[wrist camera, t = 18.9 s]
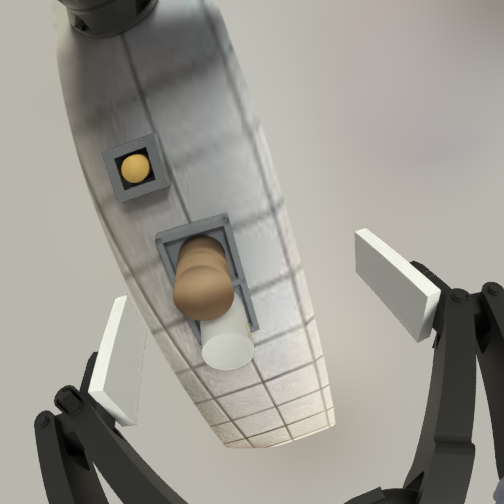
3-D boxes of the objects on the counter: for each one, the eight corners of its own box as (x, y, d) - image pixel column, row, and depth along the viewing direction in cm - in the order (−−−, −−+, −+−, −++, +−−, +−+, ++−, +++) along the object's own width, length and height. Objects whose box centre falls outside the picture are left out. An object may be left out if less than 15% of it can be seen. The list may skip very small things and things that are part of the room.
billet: (171, 242, 46) (164, 279, 35) (218, 228, 47) (225, 262, 36) (186, 283, 50) (185, 326, 39) (230, 271, 50) (240, 311, 39)
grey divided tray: (156, 233, 46) (154, 239, 43) (226, 212, 47) (228, 217, 44) (199, 336, 56) (199, 345, 54) (257, 321, 57) (259, 329, 54)
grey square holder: (109, 150, 39) (101, 152, 35) (157, 132, 39) (153, 133, 36) (124, 196, 42) (118, 203, 39) (171, 181, 43) (168, 186, 39)
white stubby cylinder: (232, 329, 56) (241, 374, 45) (193, 318, 53) (194, 363, 42) (250, 297, 53) (264, 340, 42) (209, 283, 50) (213, 326, 40)
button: (123, 158, 39) (118, 160, 36) (147, 149, 39) (143, 151, 36) (130, 182, 41) (126, 186, 38) (154, 174, 41) (151, 177, 38)
